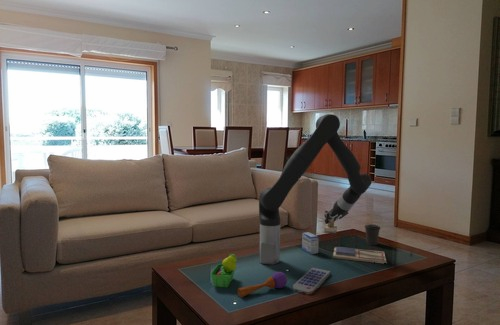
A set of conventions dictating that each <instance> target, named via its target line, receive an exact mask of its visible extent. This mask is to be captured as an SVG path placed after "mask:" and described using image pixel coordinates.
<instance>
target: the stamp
mask: <svg viewBox="0 0 500 325" xmlns="http://www.w3.org/2000/svg"><path fill="white" fill-rule="evenodd" d="M329 217H330V216H329ZM337 230H338V225H335V222H334V219H331V220H330V221H329V222H328V224H325V225H324V229H323V232H324V234H325V233H326V234H335V235H336V234H337V232H338V231H337Z"/></svg>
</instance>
